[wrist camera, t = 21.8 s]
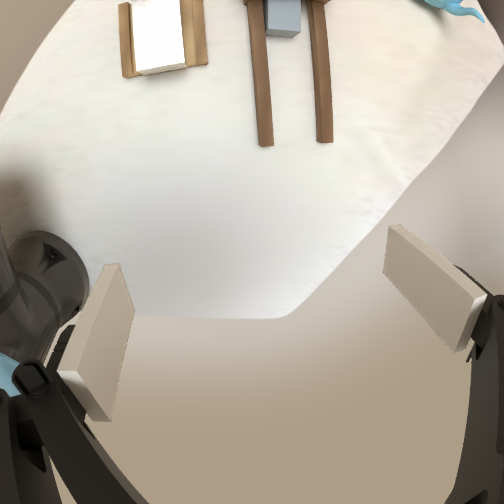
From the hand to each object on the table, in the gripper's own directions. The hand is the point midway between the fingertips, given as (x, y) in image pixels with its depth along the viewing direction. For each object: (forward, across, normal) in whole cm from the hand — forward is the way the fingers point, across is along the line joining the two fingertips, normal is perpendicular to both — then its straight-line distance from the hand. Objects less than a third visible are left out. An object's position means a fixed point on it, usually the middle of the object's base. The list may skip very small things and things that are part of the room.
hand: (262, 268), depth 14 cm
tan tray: (+27, -6, +18) cm, 33 cm away
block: (+26, -6, +18) cm, 32 cm away
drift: (+27, +9, +22) cm, 36 cm away
